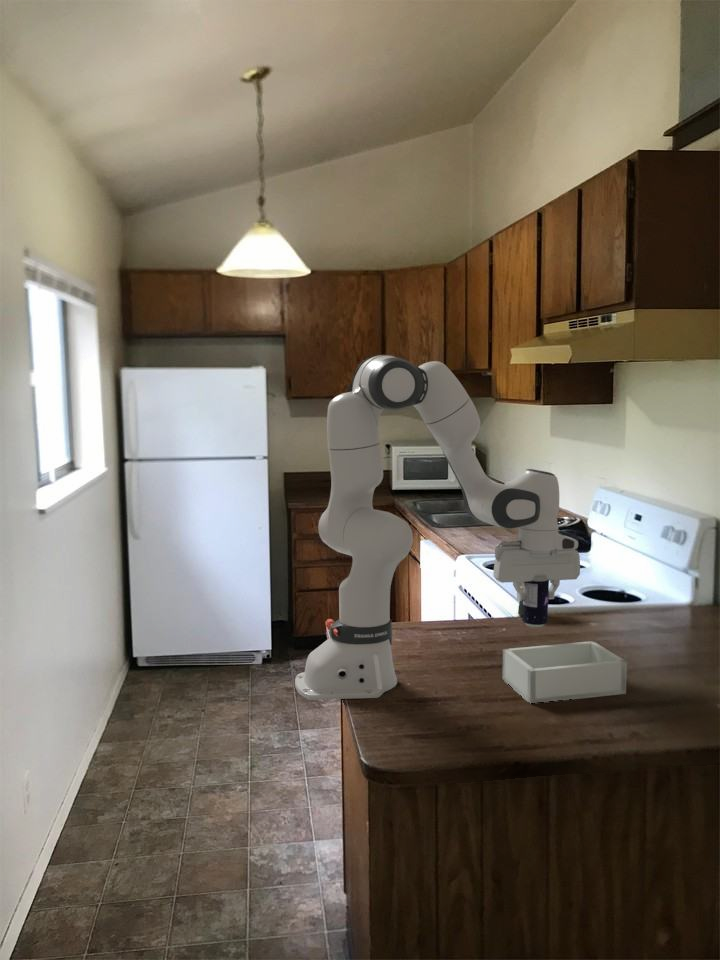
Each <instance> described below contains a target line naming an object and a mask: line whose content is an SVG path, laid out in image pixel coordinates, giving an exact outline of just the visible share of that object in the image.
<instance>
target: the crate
mask: <svg viewBox="0 0 720 960" xmlns="http://www.w3.org/2000/svg"><path fill="white" fill-rule="evenodd" d="M627 673H628V661H626V659H624V658H621V657H620V656H618V655H617V654H615V653H614V652H611V651H610V650H609V649H607V648H605V647H604V646H602V645H601V644H599V643H597V642H595V641H592V640H591V641H582V642H581V641H579V642H568V643H558V644H557V643H556V644H546V645H545V644H544V645H536V646H534V645H533V646H525V647H524V646H522V647H513V648H511V647H510V648H503V649H502V673H501V674H502V679H503V680H504V681H503V680H502V679H501V680H502V681H503V682H504V683H505V684H507V685H508V684H509V685H510V686H511V687H512V688H513V689H512V688H511V687H510V686H509V685H508V686H509V687H510V688H511V689H512V690H513V691H515V693H517V694H518V695H519V696H520V695H521V696H522V697H521V696H520V697H521V698H522V699H523V700H525V701H526V702H527V703H528V702H529V703H530V704H529V703H528V704H529V705H532V704H531V703H535V704H538V703H537V702H544V703H550V702H549V701H554V702H559V701H558V700H563V701H570V700H569V699H572V700H580V699H589V698H590V699H591V698H598V697H607V696H617V695H619V696H620V695H626V694H627V678H628V677H627V675H628V674H627Z"/></svg>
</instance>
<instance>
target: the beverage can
mask: <svg viewBox="0 0 720 960" xmlns="http://www.w3.org/2000/svg"><path fill="white" fill-rule="evenodd" d="M549 586H550V581H549V580H548V579H547V577H546V576H534V578H533V579H532V580H531V581H528V582H524V585H523V592H524V593H526V600H524V601H523V615H521V616H522V622H523V623H524V624H525V626H527V627H530V628H543V627H545V625H547V623H548V619H549V618H548V617H549V599H548V594H549V588H550V587H549Z"/></svg>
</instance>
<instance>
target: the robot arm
mask: <svg viewBox="0 0 720 960" xmlns="http://www.w3.org/2000/svg"><path fill="white" fill-rule="evenodd" d="M409 407H413V408H414V409H415V410H416V411H417V412H418V413H419V416H420V417H421V419H422V420H423V422H424V423H425V425H426V428H427V429H428V430H429V432H430V433H431V435H432V437H433V438H434V439H435V441H436V443H437V445H438V446H439V448H440V449H441V452H442V453H443V455H444V458H445V459H446V460H445V461H447V464H448V465H449V467H450V469H451V471H452V473H453V475H454V477H455V479H456V481H457V483H458V484H459V486H460V490H461V492H462V497H463V503H464V508H465V511H466V513H467V515H468V516H469V517H470V518H471V519H472V520H474V521H476V522H478V523H483V524H488V525H492V526H495V527H499V528H501V529H505V530H507V529H508V530H510V529H516V528H518V536H517V537H518V539H517V540H512V541H511V540H510V541H507V540H505V541H501V542H500V543H498V544H497V545H496V546H495V548H494V557H495V559H494V565H493V573H492V574H493V575H492V576H493V577H494V579H495V580H496V581H497V582H499V583H501V584H503V583H512V586H513V588H514V590H515V592H516V599H517V600H518V601H519V602H520V601H524V600H526V593H524V592H522V590H521V588H520V586H522V582H528V581H531V580H532V579H533V578H534V576H546V577H547V579H548V580H549V584H550V585H549V586H550V587H549V594H548V600H554V599H555V596H556V595H555V593H556V591H557V589H559V586H560V585H561V582H560V581H569V580H577V579H578V578H579V576H580V575H581V558H580V557H581V556H580V553H579V551H578V550H577V549H578V547H579V541H578V540H577V539H575V538H573V537H572V536H571V537H570V536H567V535H565V534H563V533H560V532H559V524H558V515H559V511H560V486H559V485H560V483H559V480H558V478H557V476H556V475H555V474H554V473H552V472H548V471H545V470H544V471H543V470H539V469H534V468H527V469H524V470H523V472H522V473H521V474H520V475H518V476H517V477H515V478H513V479H512V480H510V481H507V482H505V483H504V484H503V483H499V482H497V481H495V480H493V479H491V478H490V477H488V475H487V474H486V473H485V472H484V469H483V467H482V466H481V463H480V462H479V460H478V458H477V455H476V454H475V452H474V449H473V447H472V442H473V441H474V440H475V439H476V437H477V435H479V431H480V428H481V420H480V416H479V413H478V410H477V408H476V406H475V404H474V402H473V400H472V399H471V397H470V395H469V393H467V391H466V389H465V387H464V386H463V384H462V383H461V382H460V381H459V379H458V378H457V377H456V376H455V373H453V372H452V370H450V368H448V366H447V365H446V364H445V363H443V362H441V361H438V360H437V361H436V360H434V361H428V362H425V363H422V364H420V365H419V366H417V365H415V364H414V363H411V362H410V361H408V360H406V359H404V358H401V357H396V356H394V355H390V354H389V355H388V354H380V355H379V354H377V355H372V356H369V357H367V358H365V359H364V360H362V361H361V362H360V363H359V364H358V366H357V368H356V369H355V371H354V373H353V377H352V379H351V382H350V385H349V386H348V389H347V392H343V393H340V394H338V395H336V396H335V397H333V398H332V399H331V400H330V401H329V404H328V406H327V417H326V437H327V441H326V442H327V450H328V457H329V458H328V459H329V467H330V480H331V487H330V495H329V500H328V505H327V507H326V509H325V510H324V512H322V514H321V515H320V518H319V520H318V527H317V528H318V535H319V537H320V539H321V541H322V543H324V544H325V545H327V546H328V547H329V548H330V549H332V550H334V551H335V552H337V553H341V554H343V555H347V556H351V557H352V562H351V563H352V564H351V569H350V572H349V574H348V576H347V577H346V578H345V579H343V580H342V581H341V583H340V585H339V587H338V602H339V603H338V606H339V607H338V608H339V610H338V611H339V612H338V614H339V617H338V619H337V620H336V621H334V620H333V619H332V618H328V619H326V621H325V627H326V628H327V630H329V631H330V633H329V634H330V637H329V638H328V639H326V640H325V641H324V642H322V644H320V645H319V646H318V647H316V648H315V649H314V650H312V651H311V652H310V653H309V654H308V656H307V658H306V661H305V667H304V671H303V672H299V673H298V674H297V675H296V676H295V679H294V687H295V690H296V692H298V694H299V695H301V696H302V697H303V698H305V699H308V700H337V699H338V700H339V699H340V700H342V699H343V700H344V699H345V700H346V699H347V700H348V699H351V700H352V699H378V698H380V697H382V696H383V694H384V693H385V692H387V691H389V690H392V689H394V688H395V687H396V686H397V684H398V678H397V676H396V672H395V667H394V661H393V654H392V646H391V645H392V643H393V624H392V619H391V618H390V614H391V613H390V612H391V611H390V609H391V607H390V606H391V604H390V603H391V585H392V582H393V577H394V573H395V572H396V569H397V566H398V565H399V564H400V562H402V561H403V560H404V559H405V558H407V556H408V555H409V553H410V551H411V549H412V547H413V540H414V538H413V530H412V528H411V526H410V524H409V522H407V521H406V520H405V519H403V518H401V517H400V516H397V515H396V514H393V513H392V512H389V511H384V510H380V509H374V505H373V500H374V499H373V497H374V492H375V489H376V487H378V486H380V484H381V483H382V481H383V478H384V468H383V459H382V458H383V457H382V450H381V440H380V434H379V429H378V428H379V421H380V418H381V417H380V416H381V414H382V413H383V411H384V410H388V411H400V410H404V409H406V408H409Z"/></svg>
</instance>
